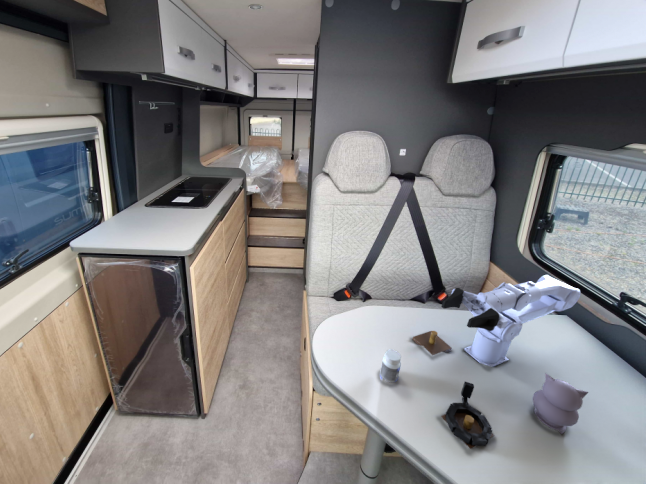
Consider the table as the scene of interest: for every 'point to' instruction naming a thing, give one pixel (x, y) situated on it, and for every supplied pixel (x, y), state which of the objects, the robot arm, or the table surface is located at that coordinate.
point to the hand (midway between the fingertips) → (455, 313)
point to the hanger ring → (469, 410)
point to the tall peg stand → (432, 342)
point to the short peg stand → (467, 425)
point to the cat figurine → (558, 403)
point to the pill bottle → (390, 366)
